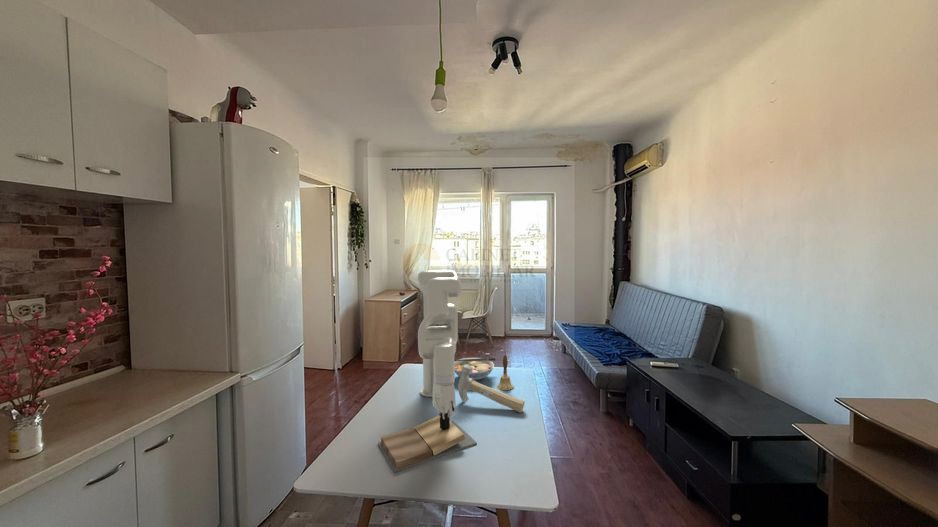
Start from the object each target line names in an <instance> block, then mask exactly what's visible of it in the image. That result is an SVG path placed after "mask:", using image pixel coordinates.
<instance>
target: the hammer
mask: <svg viewBox="0 0 938 527" xmlns="http://www.w3.org/2000/svg"><path fill="white" fill-rule="evenodd" d="M472 370H473V368H472V367H471V366H470V365H467V364H466V365H464V366H463V368H462V371H461V372H462V376H461V377H459V381H458V384H457V390H458V395H459V397H460V399H461V400H462V401H463V402H464V404H466V403H467V402H468V401H469V400H470V399H469V398H470V397H469V396H468V394H467V393H468V392H467V391H472V392H474V393H477V394H478V395H479V394H480V395H481V396H483V397H486V398H487V399H489V400H491V401H493V402H495V403H498V404H499V405H502V406H505V407H507V408H509V409H511V410H513V411H515V412H518V413H523V410H524V406H525V403H526V402H525V400H523V399H520V398H518V397H514V396H512V395H509V394H506V393H505V392H502V391H501V390H500V391H499V390H498V389H495V388H492V387H489V386H487V385H484V384H482V383H480V382H478V381H477V380H476V381H473V379H472V378H469V375H470V374H471V373H472Z"/></svg>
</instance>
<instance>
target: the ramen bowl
mask: <svg viewBox="0 0 938 527" xmlns="http://www.w3.org/2000/svg"><path fill="white" fill-rule="evenodd" d="M493 361H496V358H495V357H488V358H484V357H483V358H481V357H465V358H460V359H454V371H455V375H456V376H458V377H459V378H460V377H461V376H462V372H461V371H462V368H463V366H464V365H466V364H467V365H470V366H471V367H472V368H473V370H472V373H471V374H470V375H469V378H472V379H473V381H476V382H477V381H479V380H482V379H485V378H486V377H488V376H489V375H490V374H491V372H492V371H493V370H494V367H495V364H494V362H493Z"/></svg>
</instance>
